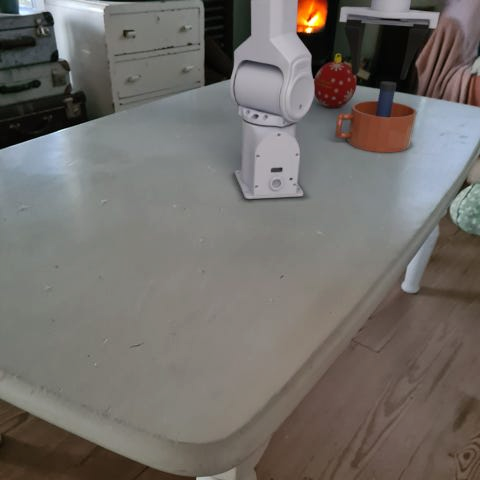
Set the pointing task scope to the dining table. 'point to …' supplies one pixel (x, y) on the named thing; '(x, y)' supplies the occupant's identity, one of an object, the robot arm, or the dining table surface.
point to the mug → (378, 127)
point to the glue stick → (385, 99)
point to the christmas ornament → (334, 83)
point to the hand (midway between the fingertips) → (378, 76)
